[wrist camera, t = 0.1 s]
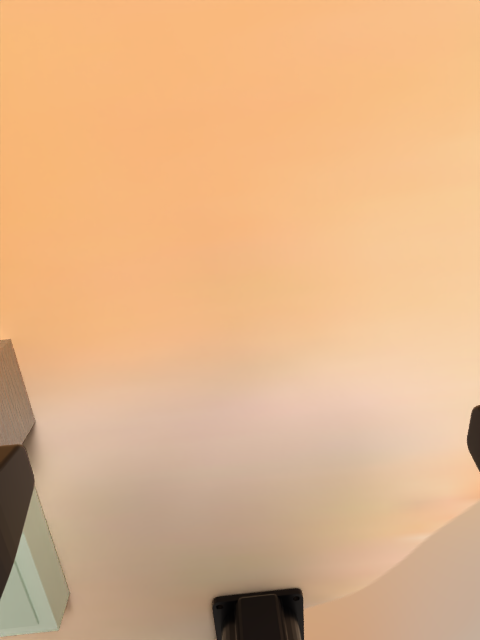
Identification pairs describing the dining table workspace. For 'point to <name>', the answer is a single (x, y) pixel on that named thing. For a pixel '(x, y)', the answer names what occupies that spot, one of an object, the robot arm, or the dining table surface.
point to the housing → (13, 399)
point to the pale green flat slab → (34, 581)
